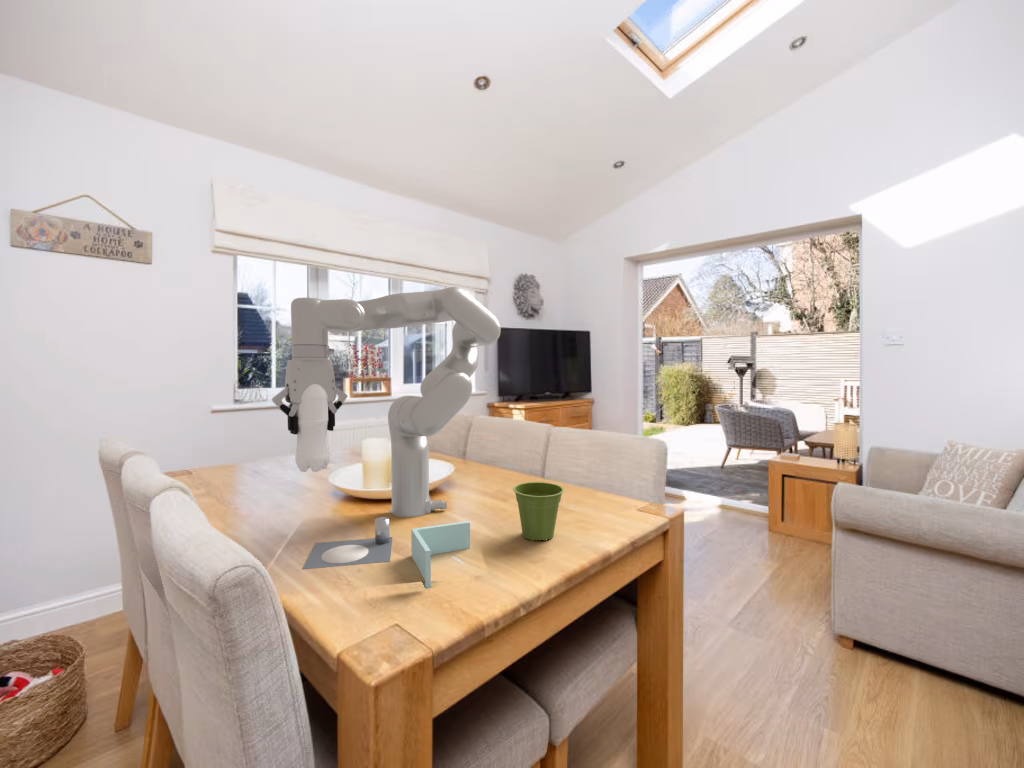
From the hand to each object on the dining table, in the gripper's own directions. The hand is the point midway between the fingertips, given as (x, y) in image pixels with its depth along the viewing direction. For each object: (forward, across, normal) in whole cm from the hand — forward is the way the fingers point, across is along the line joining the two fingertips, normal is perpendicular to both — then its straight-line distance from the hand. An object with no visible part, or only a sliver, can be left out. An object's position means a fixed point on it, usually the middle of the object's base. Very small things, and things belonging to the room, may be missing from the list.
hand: (312, 431), depth 105 cm
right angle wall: (+25, -14, +34) cm, 45 cm away
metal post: (+23, -9, +16) cm, 30 cm away
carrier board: (+25, -2, +17) cm, 30 cm away
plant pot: (+25, -39, +34) cm, 57 cm away
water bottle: (+9, 0, 0) cm, 9 cm away
